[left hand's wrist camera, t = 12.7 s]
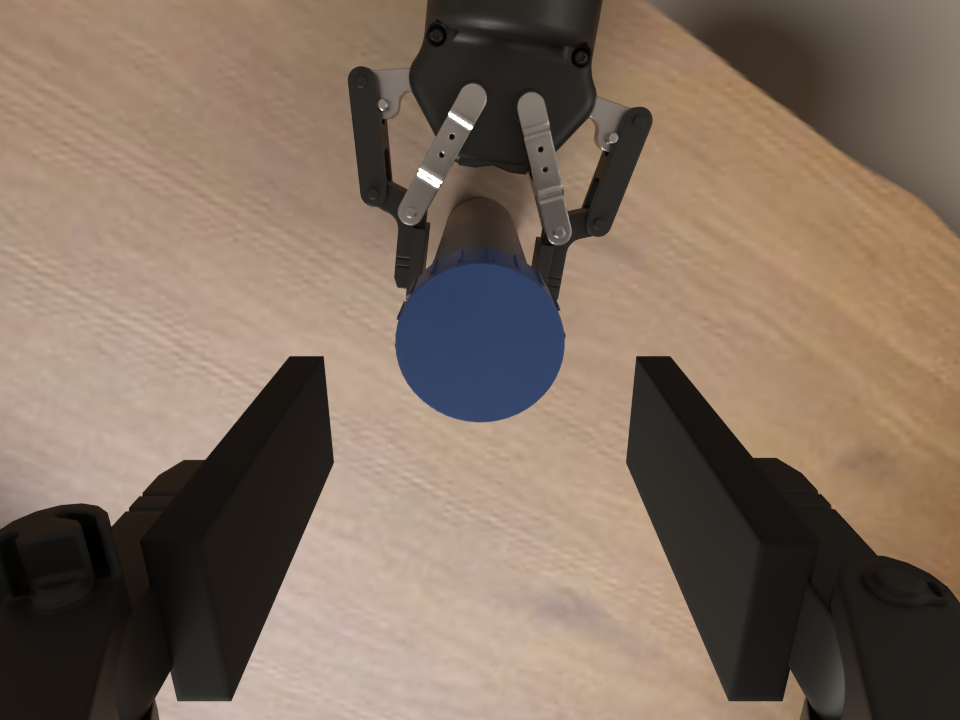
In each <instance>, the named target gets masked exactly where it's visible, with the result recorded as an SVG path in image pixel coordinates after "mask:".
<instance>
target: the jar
mask: <svg viewBox="0 0 960 720" xmlns="http://www.w3.org/2000/svg"><path fill="white" fill-rule="evenodd" d="M488 246H491V249H495V250H500V251H503V252H506V253H509V254H512V255H515V254H517V255H518V257H519V259H521V260H523V261H524V262H525V263H527V262H526V259H525V256H524V253H523V250H522V247H521V244H520V241H519V238H518V235H517V232H516V229H515V226H514V223H513V220H512V218H511V216H510V214H509V212H508V211H507V210H506V209H505V208H504V207H503V206H502V205H501V204H499V203H498V202H496V201H494V200H491V199H488V198H472V199H469V200H466V201H464V202H462V203H461V204H459V205H458V206H457V207H456V208H455V209H454V210H453V211H452V213H451V214H450V216H449V218H448V220H447V223H446V226H445V229H444V232H443V235H442V238H441V241H440V244H439V247H438V250H437V253H436V256H435V259H437V260H439V259H441V258H442V257H444V256H447V255H449V254H451V253H454V252H457V251H459V248H463V250H465V249H471V248H487V247H488ZM435 259H434V260H435Z"/></svg>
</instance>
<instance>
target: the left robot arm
mask: <svg viewBox="0 0 960 720" xmlns="http://www.w3.org/2000/svg"><path fill="white" fill-rule="evenodd" d="M333 463H334V459H333V449H332V438H331V428H330V418H329V407H328V397H327V387H326V376H325V366H324V356H290V357H289V358H288V359H287V360H286V362H285V363H284V364H283V365H282V367H281V368H280V369H279V370H278V371H277V373H276V374H275V375H274V376H273V378H272V379H271V380H270V381H269V383H268V384H267V385H266V386H265V387H264V389H263V390H262V391H261V392H260V394H259V395H258V396H257V397H256V398H255V400H254V401H253V402H252V403H251V405H250V406H249V407H248V408H247V410H246V411H245V412H244V413H243V414H242V416H241V417H240V418H239V419H238V421H237V422H236V423H235V424H234V425H233V427H232V428H231V429H230V430H229V432H228V433H227V434H226V435H225V436H224V438H223V439H222V440H221V441H220V443H219V444H218V445H217V446H216V448H215V449H214V450H213V451H212V452H211V454H210V455H209V456H208V457H207V459H206V460H183V461H182V462H180V463H178V464H177V465H175V466H173V467H172V468H170V469H168V470H167V471H165V472H163V473H162V474H160V475H159V476H158V477H157V478H156V479H155V480H154V481H153V482H152V483H151V484H150V485H149V486H148V488H147V489H146V490H145V491H144V492H143V496H139V497H138V499H137V500H136V501H135V502H134V503H133V504H132V505H131V506H130V507H129V512H125V513H124V514H123V515H122V516H121V517H120V518H119V519H118V520H117V522H116V523H115V524H114V525H113V526H112V527H111V524H110V520H109V516H108V513H107V512H106V511H104V510H103V509H102V508H100V507H99V506H95V505H88V504H82V503H81V504H69V505H59V506H55V507H51V508H48V509H44V510H40V511H36V512H34V513H31V514H29V515H27V516H24V517H22V518H20V519H17V520H15V521H13V522H11V523H10V524H8V525H7V526H5V527H3V528H2V529H0V600H1V604H0V720H159V714H158V709H157V705H156V701H155V697H156V695H157V694H158V692H159V690H160V688H161V687H162V685H163V683H164V681H165V680H166V678H167V676H168V674H169V672H171V676H172V680H173V684H174V689H175V693H176V697H177V701H231V700H232V698H233V696H234V693H235V691H236V689H237V687H238V684H239V682H240V680H241V677H242V675H243V673H244V670H245V668H246V666H247V663H248V661H249V659H250V656H251V654H252V652H253V649H254V647H255V645H256V642H257V640H258V638H259V635H260V633H261V631H262V628H263V626H264V624H265V621H266V619H267V617H268V614H269V612H270V610H271V608H272V605H273V603H274V601H275V598H276V596H277V594H278V591H279V589H280V587H281V584H282V582H283V580H284V577H285V575H286V573H287V570H288V568H289V566H290V563H291V561H292V559H293V556H294V554H295V552H296V549H297V547H298V545H299V542H300V540H301V538H302V535H303V533H304V531H305V529H306V526H307V524H308V522H309V519H310V517H311V515H312V512H313V510H314V508H315V505H316V503H317V501H318V498H319V496H320V494H321V491H322V489H323V487H324V484H325V482H326V480H327V477H328V475H329V473H330V470H331V468H332V466H333ZM626 463H627V466H628V468H629V470H630V473H631V475H632V477H633V480H634V482H635V484H636V487H637V489H638V491H639V494H640V496H641V498H642V501H643V503H644V505H645V508H646V510H647V512H648V515H649V517H650V519H651V522H652V524H653V526H654V529H655V531H656V533H657V536H658V538H659V540H660V542H661V545H662V547H663V549H664V552H665V554H666V556H667V559H668V561H669V563H670V566H671V568H672V570H673V573H674V575H675V577H676V580H677V582H678V584H679V587H680V589H681V591H682V594H683V596H684V598H685V601H686V603H687V605H688V608H689V610H690V612H691V615H692V617H693V619H694V621H695V624H696V626H697V628H698V631H699V633H700V635H701V638H702V640H703V642H704V645H705V647H706V649H707V652H708V654H709V656H710V659H711V661H712V663H713V666H714V668H715V670H716V673H717V675H718V677H719V680H720V682H721V684H722V687H723V689H724V691H725V694H726V696H727V698H728V700H729V701H783V697H784V693H785V689H786V684H787V680H788V676H789V672H790V669H791V671H792V673H793V675H794V676H795V678H796V680H797V682H798V683H799V685H800V687H801V689H802V690H803V692H804V694H805V696H806V697H805V701H804V705H803V709H802V713H801V717H800V720H960V603H959V601H958V600H957V598H956V597H955V596H954V594H953V593H952V592H951V591H950V589H949V588H948V587H947V586H946V585H944V584H943V583H942V582H940V581H939V580H938V579H936V578H935V577H934V576H932V575H931V574H929V573H927V572H925V571H923V570H921V569H919V568H917V567H915V566H913V565H911V564H909V563H906V562H903V561H899V560H896V559H893V558H889V557H886V556H877V555H876V554H875V552H874V551H873V550H872V549H871V548H870V547H869V546H868V545H867V544H866V543H865V542H864V540H863V539H862V538H861V537H860V536H859V535H858V534H857V533H856V532H855V531H854V530H853V528H852V527H851V526H850V525H849V524H848V523H847V522H846V521H845V520H844V519H843V518H842V517H841V515H840V514H839V513H838V512H837V511H836V510H835V509H832V508H831V505H830V503H829V502H828V501H827V500H826V499H825V498H824V497H823V496H822V495H821V494H818V490H817V489H816V488H815V487H814V486H813V485H812V484H811V483H810V482H809V481H808V480H807V478H806V477H805V476H804V475H803V474H802V473H801V472H799V471H797V470H796V469H794V468H792V467H791V466H789V465H787V464H786V463H784V462H782V461H780V460H779V459H777V458H753V457H752V456H751V455H750V454H749V452H748V451H747V450H746V449H745V448H744V446H743V445H742V444H741V443H740V441H739V440H738V439H737V438H736V436H735V435H734V434H733V433H732V432H731V430H730V429H729V428H728V427H727V425H726V424H725V423H724V422H723V421H722V419H721V418H720V417H719V416H718V414H717V413H716V412H715V411H714V410H713V408H712V407H711V406H710V405H709V403H708V402H707V401H706V400H705V398H704V397H703V396H702V395H701V394H700V392H699V391H698V390H697V389H696V387H695V386H694V385H693V384H692V383H691V381H690V380H689V379H688V378H687V376H686V375H685V374H684V373H683V371H682V370H681V369H680V368H679V367H678V365H677V364H676V363H675V362H674V360H673V359H672V358H671V357H670V356H636V366H635V376H634V387H633V397H632V407H631V418H630V428H629V438H628V449H627V459H626Z"/></svg>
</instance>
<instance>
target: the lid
mask: <svg viewBox="0 0 960 720" xmlns="http://www.w3.org/2000/svg"><path fill="white" fill-rule="evenodd" d="M559 310H560V308H559V305H558V303H557V301H556V298H555V296H554V294H553V293H551V294H550V291H549V289H548V287H547V286H546V284H545V282H544V281H543V279H542V276H541V274H540V272H539V271H538V270H537V271H535V270H534V269H533V268H532V267H531V266H530V265H528V264H527V263H525V262H524V261H523V260H521V259H519V257H518V255H517V254H515V255H512V254H509V253H506V252H503V251H500V250H495V249H491V246H488V247H487V248H471V249H465V250H463V248H459V251H457V252H454V253H451V254H449V255H447V256H444V257H442V258H441V259H439V260H437V259H435V260H434V261H433V263H432V265H431V266H429V267H428V268H427V269H426V270H425V271H424V272H423V273H422V274H421V275H420V277H419V278H415V279H414V281H413V284H412V286H411V288H410V291H409V296H408V298H407V300H406V302H405V301H404V302H403V305H402V307H401V310H400V312H399V314H398V317H397V320H399V321H398V325H397V330H396V341H395V348H396V355H397V360H398V364H399V367H400V369H401V372H402V375H403V376H404V378H405V380H406V382H407V384H408V385H409V386H410V388H411V389H412V390H413V392H414V393H415V394H416V395H417V396H418V397H419V398H420V399H421V400H422V401H423V402H424V403H426V404H427V405H428V406H430V407H431V408H433V409H434V410H436V411H437V412H440V413H442V414H444V415H446V416H448V417H451V418H454V419H458V420H463V421H468V422H491V421H498V420H502V419H506V418H509V417H511V416H514V415H516V414H519V413H520V412H522V411H524V410H526V409H528V408H529V407H530V406H532V405H533V404H534V403H536V402H537V401H538V400H539V399H540V398H541V397H542V396H543V395H544V394H545V393H546V392H547V390H548V389H549V388H550V387H551V385H552V383H553V382H554V380H555V379H556V376H557V374H558V372H559V370H560V367H561V363H562V360H563V355H564V342H565V333H564V330H563V325H562V321H561V318H560V315H559V313H558V311H559Z"/></svg>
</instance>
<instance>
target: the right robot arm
mask: <svg viewBox="0 0 960 720" xmlns="http://www.w3.org/2000/svg"><path fill="white" fill-rule="evenodd" d="M602 1H603V0H428V2H427V13H426V24H425V34H424V40H423V43H422V46H421V49H420V51H419V53H418V55H417V56H416V58H415V59H414V61H413V63H412V65H411V67H410V68H407V69H388V70H372V69H370V68H367V67H362V66H360V67H356V68H354V69H353V70H352V71H351V72H350V74H349V77H348V86H349V95H350V104H351V113H352V122H353V130H354V139H355V148H356V157H357V166H358V175H359V184H360V193H361V198H362V200H363V201H364V202H365V203H366V204H367V205H369V206H372V207H378V208H380V209H382V210H384V211H386V212H388V213H389V214H391V215H392V216H393V217H394V218H395V219H396V221H397V223H398V241H397V252H396V264H395V275H394V278H395V281H396V284H397V287H398V288H405V289H407V292H406V300H407V298H408V296H409V291H410V288H411V286H412V284H413V281H414V279H415V278H419V277H420V275H421V274H422V273H423V272H424V271H425V269H426V259H427V250H428V240H429V230H430V223H428V222H426V220H427V210H428V207H429V206H430V204H431V202H432V200H433V199H434V197H435V195H436V193H437V191H438V190H439V188H440V186H441V184H442V183H443V181H444V179H445V177H446V175H447V174H448V172H449V170H450V168H451V167H452V165H453V163H454V161H455V162H457V163H459V165H462V166H469V167H483V166H490V165H494V166H496V167H498V168H501V169H503V170H505V171H508V172H511V173H518V174H525V175H526V173H528V174H529V178H530V182H531V186H532V190H533V193H534V197H535V201H536V205H537V209H538V213H539V217H540V221H541V226H542V233H541V237H536V242H535V248H534V254H533V260H532V266H531V267H532V268H533V269H534V270H535V271H537V270H538V271H539V272H540V274H541V276H542V279H543V281H544V282H545V284H546V286H547V287H548V289H549V291H550V294H551V293H553V294H554V296H555V298H556V301H557V299H558V295H559V290H560V285H561V278H562V274H563V268H564V263H565V258H566V252H567V249H568V247H569V246H570V244H571V243H572V242H574V241H575V240H578V239H581V238H586V237H591V236H596V237H601V236H604V235H605V234H607V233H608V232H609V230H610V228H611V226H612V224H613V221H614V219H615V216H616V213H617V211H618V208H619V206H620V203H621V201H622V198H623V196H624V193H625V191H626V188H627V186H628V183H629V181H630V178H631V176H632V173H633V171H634V168H635V166H636V163H637V161H638V158H639V156H640V153H641V151H642V148H643V146H644V143H645V141H646V138H647V136H648V133H649V131H650V128H651V125H652V115H651V113H650V111H649V110H648V109H646V108H644V107H634V108H628V107H625V106H623V105H620V104H617V103H614V102H612V101H609V100H606V99H603V98H601V97H598V96H597V94H596V89H595V85H594V82H593V78H592V70H591V64H592V56H593V51H594V45H595V40H596V34H597V29H598V23H599V18H600V12H601V6H602ZM408 92H412V93H413V94H414V96H415V98H416V100H417V102H418V104H419V106H420V108H421V110H422V111H423V113H424V115H425V117H426V119H427V121H428V123H429V125H430V127H431V128H432V130H433V132H434V134H435V136H436V138H435V140H434V141H433V143H432V145H431V147H430V149H429V151H428V153H427V154H426V156H425V158H424V160H423V162H422V164H421V165H420V167H419V169H418V171H417V174H416V176H415V178H414V179H413V181H412V183H411V185H410V187H409V189H408V190H407V189H405V188H403V187H401V186H400V185H398V184H396V183H394V182H393V181H392V170H391V159H390V149H389V138H388V127H387V119H392V118H394V117H396V116H397V115H398V113H399V111H400V104H401V100H402V98H403V96H404V95H405V94H407V93H408ZM588 118H590V119H591V120H592V121H593V123H594V125H595V135H594V142H595V144H596V146H597V147H598V148H599V149H601V150H603V152H602V155H601V157H600V160H599V163H598V165H597V168H596V171H595V173H594V176H593V178H592V181H591V184H590V186H589V189H588V192H587V194H586V197H585V200H584V202H583V205H582V208H580V209H575V210H571V211H567V207H566V203H565V198H564V190H563V184H562V180H561V175H560V171H559V167H558V162H557V158H556V151H557V150H558V149H559V148H560V147H561V146H562V145H563V144H564V143H565V142H566V141H567V140H568V139H569V138H570V137H571V136H572V135H573V134H574V132H575V131H576V130H577V129H578V128H579V127H580V126H581V125H582V124H583V123H584V122H585V121H586V120H587V119H588Z"/></svg>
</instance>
